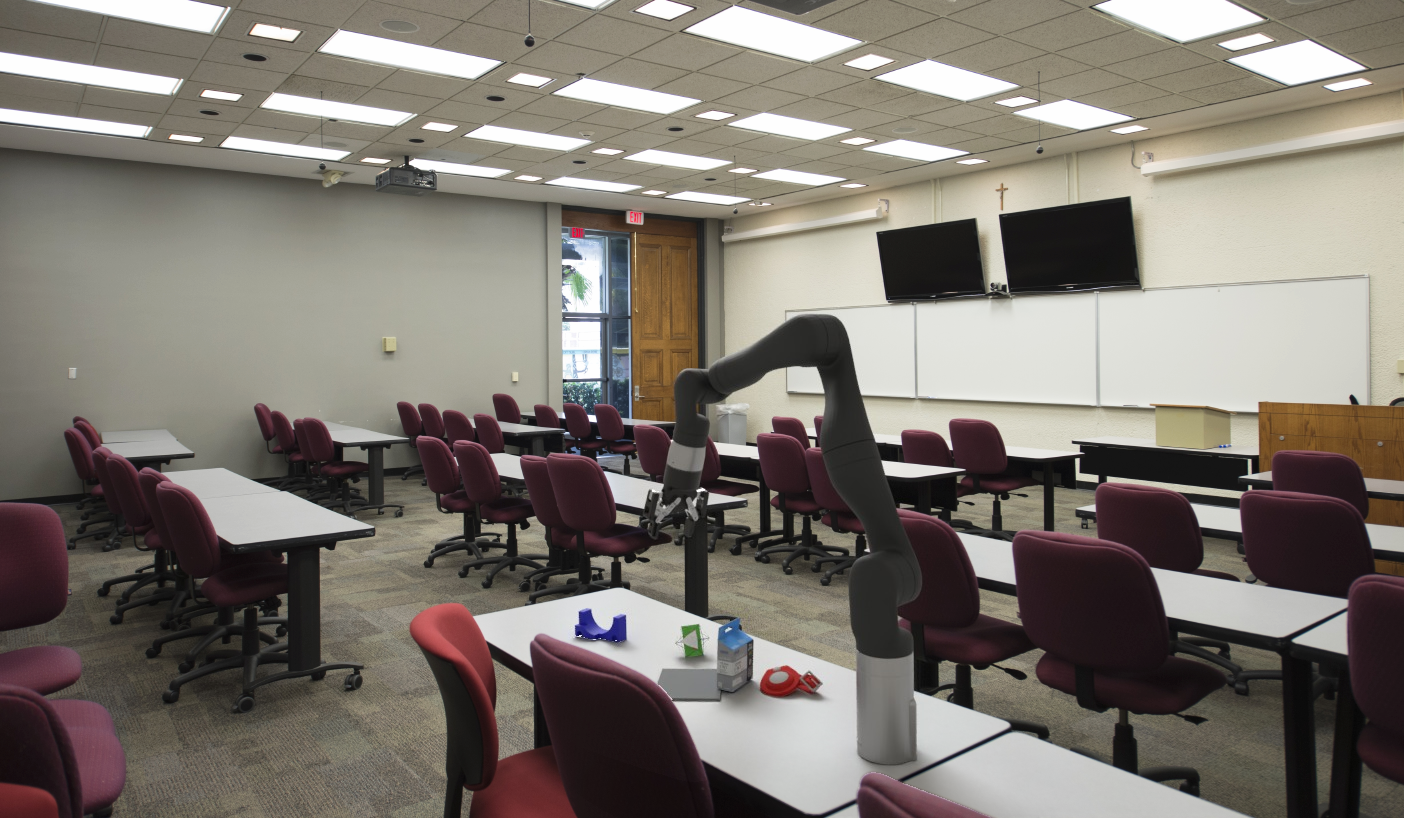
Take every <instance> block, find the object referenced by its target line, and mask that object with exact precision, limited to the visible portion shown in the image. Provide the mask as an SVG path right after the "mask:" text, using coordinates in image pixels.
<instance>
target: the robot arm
mask: <svg viewBox="0 0 1404 818" xmlns="http://www.w3.org/2000/svg"><path fill="white" fill-rule="evenodd" d="M794 367H800V368H816V370H817V371H818V374H819V377H820V380H821V384H822V388H823V389H822V390H823V393H824V411H823V416H822V421H821V426H820V432H819V448H820V450H821V455H822V458H823V462H824V465H825V469H826V472H827V475H828V477H829V480H830V484H831V485H832V487H833V488H834V489H835V491H836V493H837V494H838V496H840V498H841V499H842V500H843V502H845V504H846V505H847V506H848V507H849V508H850V510H851V511H852V512H853V514H854V515H855V516H856V517H857V519H858V520H859V522H860V524H861V525H862V528H863V530H864V532H865V535H866V538H867V541H868V544H869V547H870V551H871V553H870V554H867V555H863V556H861V557H859V558H857V559H856V560H855V561H854V562H853V563H852V566H851V567H850V570H849V575H848V602H849V617H850V619H849V620H850V627H851V631H852V634H853V637H854V640H855V680H856V681H855V683H856V688H855V690H856V691H855V692H856V695H855V696H856V752H857V753H858V755H859V756H860V757H862V758H863V759H865V760H867V761H869V762H872V763H876V764H881V765H900V764H905V763H907V762H909V761H914V762H915V761H917V760H918V754H917V753H918V749H917V748H918V745H917V744H918V742H917V741H918V740H917V738H918V737H917V734H918V733H917V731H918V730H917V725H918V724H917V722H918V721H917V719H918V718H917V715H918V714H917V702H916V699H915V697H914V696H915V690H914V689H915V681H914V680H915V679H914V678H915V677H914V676H915V675H914V674H915V671H914V667H915V666H914V663H915V661H914V658H915V657H914V650H915V649H914V636H913V634H912V632H911V631H910V630H908V629H906V628H904V627H901V626H899V625H900V624H899V616H898V615H899V613H898V607H901V606H904V605H906V604H909V603H911V602H913V601H915V600H916V599H917V598H918V597H919V596H920V593H921V591H922V587H923V575H922V570H921V567H920V563H919V561H918V559H917V556H916V553H915V550H914V549H913V547H912V543H911V541H910V539H909V537H908V535H907V532H906V530H905V527H904V525H903V522H902V520H901V518H900V514H899V513H898V508H897V507H896V503H895V500H894V497H893V493H892V491H891V488H890V484H889V482H888V479H887V476H886V472H885V469H884V466H883V461H882V458H881V455H880V451H879V448H878V444H877V441H876V439H875V436H874V433H873V431H872V427H871V424H870V422H869V417H868V414H867V411H866V406H865V403H864V400H863V396H862V393H861V388H860V385H859V382H858V376H857V370H856V366H855V361H854V356H853V351H852V347H851V342H850V338H849V335H848V331H847V328H846V327H845V325H844V323H843V322H842V321H841V319H839V318H838V316H835V315H833V314H829V313H828V314H827V313H800V314H796V315H794V316H792V317H790V318H788V319H786V320H785V321H783V322H782V323H781V324H780V325H778V326H776V328H774V329H773V330H771V331H770V332H769V333H768V334H766V335H765V336H763V337H761V338H760V339H758V340H757V341H755V342H754V343H751V344H750V345H747V346H746V347H744V348H741V349H738V350H737V351H735V352H733V353H730V354H727V355H726V356H723V357H720V358H719V359H717V360H715V361H714V362H713V363H712V364H711V365H710V367H709V368H707V369H706V368H684V369H683V370H681V371H680V372H679V373H678V375H677V376H676V377H675V380H674V382H673V383H674V384H673V397H674V398H673V399H674V412H675V423H674V427H673V428H674V429H673V433H672V434H673V435H672V439H671V443H670V446H669V448H668V453H667V458H666V463H665V469H664V474H663V480H662V481H663V482H662V483H663V487H662V488H661V490H654V489H653V488H650V489H649V490H648V491H647V495H646V499H645V502H644V507H643V512H642V516H643V517H645V518H646V519H648V520H649V524H648V525H649V526H648V531H647V532H648V535H649V538H651V539H653V540H657V539H658V538H659V532H660V528H661V521H662V520H663V519H664V518H665V517H666V516H668V515H669V514H670V513H671V512H672V513H673V512H678V511H679V512H685V513H686V515H687V517H686V518H685V522H684V527H683V531H682V533H683V535H684V536H685V537H687V538H691V537H692V536H693V534H694V532H695V528H696V523H697V521H698V519H700V518H702V519H703V518H705V517H706V515H707V509H708V503H709V497H710V492H709V491H708V490H706V488H703V487H700V483H701V478H702V473H703V469H704V463H705V458H706V448H707V442H708V437H709V434H710V433H709V432H710V427H711V422H710V420H709V418H708V417H706V416H705V415H703V414H700V413H698V410H697V406H698V404H699V405H714V404H717V403H721V402H723V401H724V400H726V399H727V398H728V397H730V395H732V394H733V393H735V392H739V391H740V390H743V389H745V388H749V387H751V386H753V385H755V384H757V383H759V381H761V380H762V379H763V378H764V377H765V375H767V374H768V373H770V372H773V371H777V370H779V369H785V368H794ZM695 499H696V500H695ZM694 501H696V502H695V504H694V503H693V502H694ZM663 507H665V508H663ZM904 762H905V763H904Z"/></svg>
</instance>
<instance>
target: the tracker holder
mask: <svg viewBox="0 0 1404 818" xmlns="http://www.w3.org/2000/svg"><path fill="white" fill-rule="evenodd" d="M823 685H824V683H823V682H822V681H821V680H820V678H818V677H817V676H816V675H815V674H814V673H813V672H812V671H810V670H808V671H806V672H805V673H804V674H800V673H798V671H796V669H794V668H793V667H791V666H789V665H787V664H786V665H782V666H775V667H772V668H769V669H766V671H765V673H764V674H763V676H762V677H761V679H760V683H759V688H760V692H761V693H763V694H765V695H767V696H770V697H777V698H778V697H779V698H780V697H785V696H788V695H790V694H792V693H794V691H796V690H797V689H799V690H800V691H802V692H805V693H807V694H814V693H815V692H817V691H818V690H819V688H821V686H823Z"/></svg>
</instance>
